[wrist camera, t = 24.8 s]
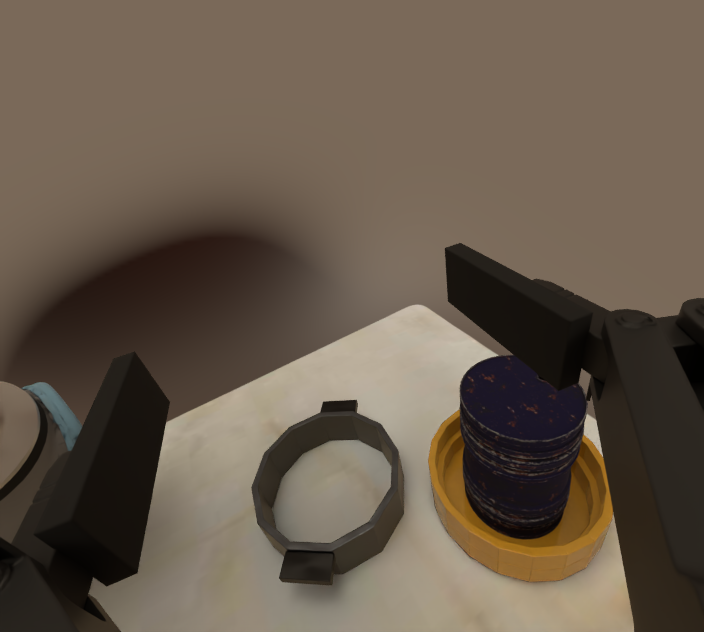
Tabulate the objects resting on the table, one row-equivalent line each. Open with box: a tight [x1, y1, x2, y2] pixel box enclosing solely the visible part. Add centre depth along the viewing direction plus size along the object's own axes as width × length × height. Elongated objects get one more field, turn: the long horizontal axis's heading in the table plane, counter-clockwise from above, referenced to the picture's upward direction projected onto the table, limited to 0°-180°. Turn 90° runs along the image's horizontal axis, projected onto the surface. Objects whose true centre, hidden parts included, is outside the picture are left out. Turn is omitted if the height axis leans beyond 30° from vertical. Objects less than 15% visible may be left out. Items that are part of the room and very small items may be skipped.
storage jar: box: [460, 355, 588, 540], centre depth 33 cm, size 10×10×15 cm
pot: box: [252, 400, 404, 585], centre depth 40 cm, size 21×16×5 cm
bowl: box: [428, 410, 613, 582], centre depth 36 cm, size 16×16×6 cm
